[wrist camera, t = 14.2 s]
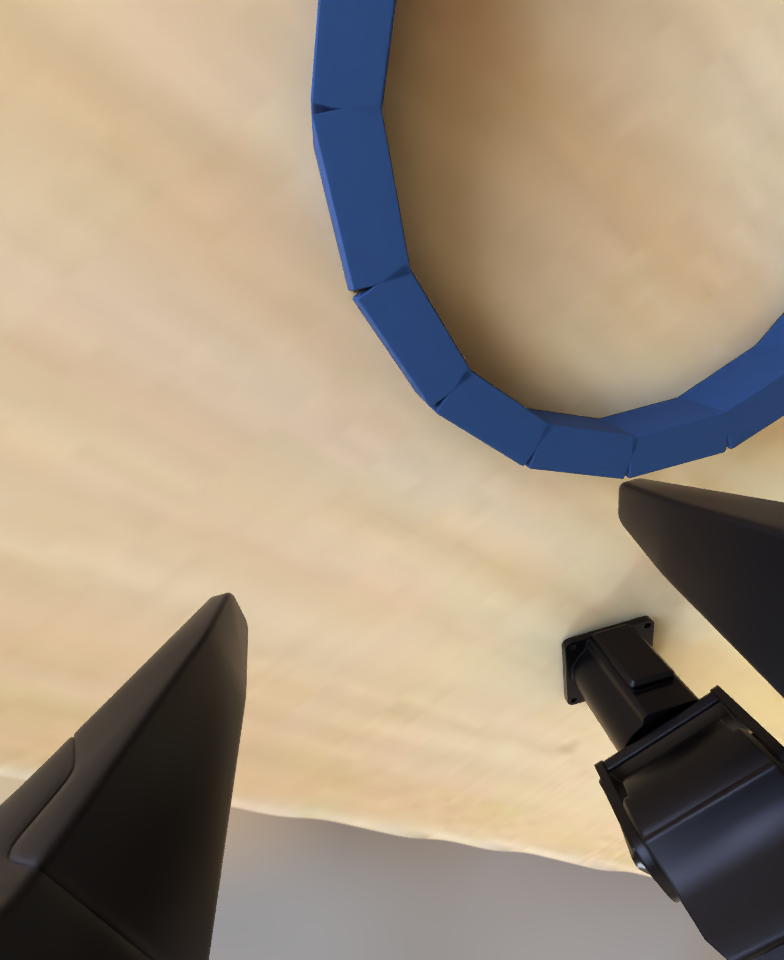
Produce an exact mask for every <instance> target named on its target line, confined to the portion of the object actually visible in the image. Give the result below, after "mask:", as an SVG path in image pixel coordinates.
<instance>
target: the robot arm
mask: <svg viewBox="0 0 784 960" xmlns="http://www.w3.org/2000/svg"><path fill="white" fill-rule="evenodd" d="M618 514H619V519H620V521H621V523H622V525H623V526H624V527H625V529H626V530H627V531H628V532H629V534H630V535H631V536H632V537H633V539H634V540H635V541H636V542H637V544H638V545H639V546H640V547H641V549H642V550H643V551H644V552H645V554H646V555H647V556H648V557H649V559H650V560H651V561H652V562H653V564H654V565H655V566H656V567H657V568H658V570H659V571H660V572H661V573H662V574H663V575H664V576H665V577H666V579H667V580H668V581H669V582H670V583H671V584H672V585H673V586H674V587H675V588H676V589H677V590H678V591H679V592H680V593H681V594H682V595H683V596H684V597H685V598H686V599H687V600H688V601H689V602H690V603H691V604H692V605H693V606H694V607H695V608H696V609H697V610H698V611H699V612H700V613H701V614H702V615H703V616H704V617H705V618H706V619H707V620H708V621H709V622H710V624H711V625H712V626H713V627H714V628H715V629H716V630H717V631H718V632H719V633H720V634H721V635H722V636H723V637H724V638H725V639H726V640H727V641H728V642H729V643H730V644H731V645H732V646H733V647H734V648H735V649H736V650H737V651H738V652H739V653H740V654H741V655H742V656H743V657H744V658H745V659H746V660H747V661H748V662H749V663H750V664H751V665H752V666H753V667H754V668H755V669H756V670H757V671H758V672H759V673H760V674H761V675H762V676H763V677H764V678H765V679H766V680H767V681H768V682H769V683H770V685H771V686H772V687H773V688H774V689H775V690H776V691H777V692H778V693H779V694H780V695H781V696H782V697H783V698H784V502H778V501H772V500H766V499H760V498H754V497H748V496H742V495H736V494H730V493H724V492H718V491H712V490H706V489H700V488H694V487H688V486H682V485H677V484H671V483H665V482H659V481H653V480H647V479H640V478H639V479H634V480H631V481H627V482H624V483H622V484H621V485H620V487H619V507H618ZM653 633H654V621H653V620H652V619H651V618H650V617H649V616H643V617H639V618H636V619H633V620H629V621H626V622H622V623H619V624H616V625H612V626H609V627H605V628H602V629H599V630H595V631H592V632H588V633H585V634H582V635H578V636H575V637H571V638H568V639H566V640H565V641H564V642H563V643H562V656H563V674H564V692H565V699H566V701H567V702H568V704H570V705H574V704H577V703H581V702H584V701H586V703H587V704H588V706H589V707H590V709H591V711H592V712H593V714H594V715H595V717H596V718H597V720H598V721H599V723H600V724H601V726H602V728H603V729H604V731H605V732H606V734H607V735H608V737H609V738H610V740H611V742H612V743H613V745H614V746H615V748H616V749H617V751H618V752H617V753H616V754H614V755H612V756H611V757H609V758H608V759H606V760H605V761H602V760H601V761H600V762H598V763H597V764H595V765H594V766H595V768H596V770H597V772H598V774H599V776H600V780H599V783H600V785H601V787H602V788H603V790H604V792H605V794H606V796H607V798H608V800H609V802H610V804H611V806H612V809H613V811H614V813H615V815H616V817H617V819H618V821H619V823H620V826H621V829H622V832H623V834H624V837H625V840H626V843H627V846H628V849H629V852H630V854H631V857H632V859H633V861H634V863H635V864H636V866H637V867H638V868H639V869H640V870H641V871H644V872H646V873H648V874H650V875H651V876H652V877H653V879H654V880H655V881H656V882H657V883H658V884H659V885H660V887H661V888H662V889H663V891H664V892H665V893H666V894H667V895H668V896H669V897H670V898H671V899H672V900H673V901H674V902H679V901H681V902H682V904H683V905H684V907H685V909H686V910H687V912H688V913H689V915H690V916H691V918H692V920H693V921H694V923H695V924H696V926H697V927H698V929H699V931H700V932H701V934H702V936H703V937H704V939H705V940H706V941H707V942H708V943H709V944H710V945H711V946H713V947H714V948H715V949H716V950H717V951H718V952H719V953H720V954H722V955H723V956H724V957H725V958H726V959H727V960H784V747H783V746H782V745H781V744H780V743H779V742H778V741H777V740H776V739H775V738H774V737H773V736H772V735H771V734H770V733H768V732H767V731H766V730H765V729H764V728H763V727H762V726H761V725H760V724H759V723H758V722H757V721H756V720H755V719H753V718H752V717H751V716H750V715H749V714H748V713H747V712H746V711H745V710H744V709H743V708H742V707H741V706H740V705H739V704H737V703H736V702H735V701H734V700H733V699H732V698H731V697H730V696H729V695H728V694H727V693H726V692H725V691H724V690H722V689H721V688H720V687H719V686H718V685H717V686H716V687H714V688H713V689H711V690H710V691H711V692H710V693H709V694H707V695H705V696H704V697H702V698H701V699H698V698H697V697H696V695H695V694H694V693H693V692H692V691H691V690H690V689H689V688H688V687H687V686H686V685H685V684H684V683H683V681H682V680H681V679H680V678H679V677H678V676H677V675H676V674H675V672H674V670H673V669H672V668H671V667H670V666H669V665H668V664H667V663H666V662H665V661H664V660H663V659H662V657H661V656H660V655H659V654H658V653H657V652H656V651H655V650H654V649H653V648H652V646H653ZM247 647H248V626H247V622H246V619H245V617H244V615H243V613H242V611H241V609H240V607H239V605H238V603H237V601H236V599H235V597H234V596H233V595H232V594H231V593H225V594H221V595H218V596H214V597H212V598H210V599H209V600H208V601H207V602H206V603H205V604H204V605H203V606H202V607H201V608H200V609H199V610H198V611H197V612H196V613H195V614H194V615H193V616H192V617H191V618H190V619H189V620H188V621H187V622H186V623H185V624H184V625H183V626H182V627H181V628H180V629H179V630H178V631H177V632H176V633H175V634H174V635H173V636H172V637H171V638H170V639H169V640H168V641H167V642H166V643H165V644H164V645H163V646H162V647H161V648H160V649H159V650H158V651H157V652H156V653H155V654H154V655H153V656H152V657H151V658H150V659H149V660H148V661H147V662H146V663H145V664H144V665H143V666H142V667H141V668H140V669H139V670H138V671H137V672H136V673H135V674H134V675H133V676H132V677H131V678H130V679H129V680H128V681H127V682H126V683H125V684H124V685H123V686H122V687H121V688H120V689H119V690H118V691H117V692H116V693H115V694H114V695H113V696H112V697H111V698H110V699H109V700H108V701H107V702H106V703H105V704H104V705H103V706H102V707H101V708H100V709H99V710H98V711H97V712H96V713H95V714H94V715H93V716H92V717H91V718H90V719H89V720H88V721H87V722H86V723H85V724H84V725H83V726H82V727H81V728H80V729H79V730H78V731H77V732H76V733H75V734H74V737H71V738H69V739H68V740H67V741H66V742H65V743H64V744H63V745H62V746H61V747H60V748H59V749H58V750H57V751H56V752H55V753H54V754H53V755H52V756H51V757H50V758H49V759H48V760H47V761H46V762H45V763H44V764H43V765H42V766H41V767H40V768H39V769H38V770H37V771H36V772H35V773H34V774H33V775H32V776H31V777H30V778H29V779H28V780H27V781H26V782H25V783H24V784H23V785H22V786H21V787H20V788H19V789H18V790H16V791H15V792H14V793H13V794H12V795H11V796H10V797H9V798H8V799H7V800H6V801H4V802H3V803H2V804H1V805H0V960H209V954H210V947H211V940H212V933H213V926H214V919H215V912H216V905H217V898H218V890H219V883H220V877H221V869H222V863H223V856H224V849H225V841H226V834H227V827H228V820H229V813H230V806H231V799H232V792H233V785H234V778H235V771H236V764H237V757H238V750H239V743H240V736H241V729H242V722H243V715H244V708H245V699H246V684H247Z"/></svg>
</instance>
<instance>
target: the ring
mask: <svg viewBox="0 0 784 960" xmlns="http://www.w3.org/2000/svg"><path fill="white" fill-rule="evenodd" d="M395 5H396V0H318V13H317V26H316V39H315V52H314V65H313V78H312V91H311V110H312V128H313V144H314V150H315V154H316V158H317V162H318V166H319V171H320V175H321V179H322V183H323V187H324V191H325V195H326V199H327V204H328V208H329V212H330V216H331V220H332V224H333V228H334V232H335V237H336V241H337V245H338V249H339V253H340V257H341V261H342V265H343V270H344V274H345V278H346V282H347V286H348V290H349V291H355V290H359V289H363V288H364V289H363V290H362V291H360V292H359V293H358V294H357V295H355V296H354V297H353V301H354V302H355V303H356V305H357V306H358V308H359V309H360V311H361V312H362V314H363V315H364V317H365V318H366V320H367V321H368V323H369V324H370V325H371V327H372V328H373V330H374V331H375V333H376V334H377V336H378V337H379V339H380V340H381V342H382V343H383V345H384V346H385V347H386V349H387V350H388V352H389V353H390V355H391V356H392V358H393V359H394V361H395V362H396V364H397V365H398V367H399V368H400V370H401V371H402V372H403V374H404V375H405V377H406V378H407V380H408V381H409V383H410V384H411V386H412V387H413V389H414V390H415V392H416V393H417V394H418V395H419V396H420V397H421V398H422V399H423V400H424V401H425V402H426V403H427V404H428V405H429V406H430V407H431V408H432V409H433V410H434V411H435V412H436V413H437V414H439V415H440V416H442V417H444V418H445V419H447V420H448V421H450V422H452V423H453V424H455V425H457V426H458V427H460V428H461V429H463V430H465V431H466V432H468V433H470V434H471V435H473V436H475V437H476V438H478V439H479V440H481V441H483V442H484V443H486V444H488V445H489V446H491V447H492V448H494V449H496V450H497V451H499V452H501V453H502V454H504V455H505V456H507V457H509V458H510V459H512V460H514V461H515V462H517V463H518V464H520V465H522V466H524V465H526V466H528V467H529V468H530V469H539V470H548V471H557V472H566V473H575V474H584V475H593V476H602V477H611V478H620V479H623V478H624V476H627V477H628V478H632V477H636V476H639V475H643V474H647V473H650V472H654V471H657V470H661V469H665V468H668V467H672V466H676V465H679V464H683V463H686V462H690V461H694V460H697V459H701V458H704V457H708V456H712V455H715V454H719V453H723V452H725V450H726V447H728V448H730V449H732V448H734V447H736V446H737V445H739V444H740V443H742V442H743V441H745V440H746V439H748V438H750V437H751V436H753V435H754V434H756V433H757V432H759V431H760V430H762V429H764V428H765V427H767V426H768V425H770V424H771V423H773V422H775V421H776V420H778V419H779V418H781V417H782V416H784V313H783V314H782V316H781V317H780V318H779V319H778V320H777V321H776V323H775V324H774V325H773V326H772V327H771V328H770V329H769V331H768V332H767V333H766V334H765V335H764V336H763V338H762V339H761V340H760V341H759V342H758V343H757V345H755V346H754V347H752V348H751V349H749V350H748V351H746V352H745V353H744V354H742V355H741V356H739V357H738V358H736V359H735V360H733V361H732V362H730V363H729V364H727V365H726V366H724V367H723V368H721V369H720V370H718V371H717V372H715V373H714V374H712V375H711V376H709V377H708V378H706V379H705V380H703V381H702V382H700V383H699V384H697V385H696V386H694V387H693V388H691V389H690V390H688V391H687V392H685V393H684V394H682V395H681V396H679V397H678V398H675V399H671V400H667V401H664V402H660V403H656V404H652V405H649V406H645V407H641V408H637V409H634V410H630V411H626V412H623V413H619V414H615V415H611V416H608V417H604V418H600V419H597V418H590V417H583V416H576V415H569V414H562V413H555V412H548V411H542V410H535V409H528V408H525V407H524V406H522V405H521V404H519V403H518V402H517V401H515V400H514V399H512V398H511V397H509V396H508V395H506V394H505V393H503V392H502V391H500V390H499V389H497V388H496V387H495V386H493V385H492V384H490V383H489V382H487V381H486V380H484V379H483V378H481V377H480V376H478V375H477V374H475V373H474V372H473V371H471V370H470V368H469V366H468V365H467V363H466V361H465V360H464V358H463V356H462V355H461V353H460V351H459V350H458V348H457V346H456V345H455V343H454V341H453V340H452V338H451V336H450V335H449V333H448V331H447V330H446V328H445V326H444V324H443V323H442V321H441V319H440V318H439V316H438V314H437V313H436V311H435V309H434V308H433V306H432V304H431V303H430V301H429V299H428V298H427V296H426V294H425V293H424V291H423V289H422V288H421V286H420V284H419V283H418V281H417V279H416V278H415V276H414V274H413V272H412V271H411V269H410V265H409V260H408V254H407V248H406V243H405V237H404V232H403V226H402V220H401V215H400V209H399V204H398V198H397V192H396V187H395V181H394V176H393V170H392V165H391V159H390V153H389V148H388V142H387V137H386V131H385V125H384V120H383V114H382V106H383V98H384V90H385V83H386V75H387V67H388V59H389V52H390V44H391V36H392V29H393V21H394V13H395Z"/></svg>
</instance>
